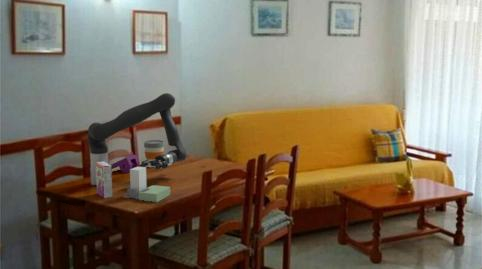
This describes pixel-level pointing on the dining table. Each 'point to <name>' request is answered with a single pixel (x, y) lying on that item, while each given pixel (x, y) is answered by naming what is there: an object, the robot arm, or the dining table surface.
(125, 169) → the mounting bracket
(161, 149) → the reusable coffee cup
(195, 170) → the dining table surface
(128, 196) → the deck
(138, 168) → the tall white pillar block
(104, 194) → the candy bar box
